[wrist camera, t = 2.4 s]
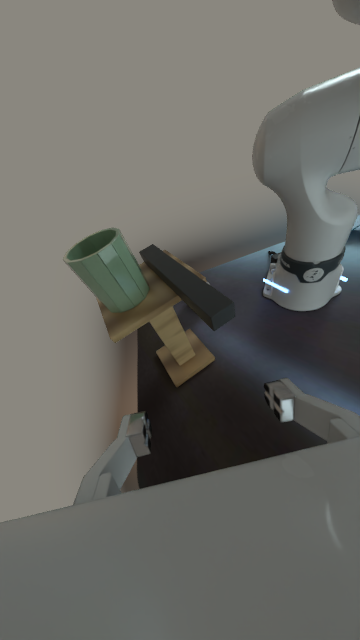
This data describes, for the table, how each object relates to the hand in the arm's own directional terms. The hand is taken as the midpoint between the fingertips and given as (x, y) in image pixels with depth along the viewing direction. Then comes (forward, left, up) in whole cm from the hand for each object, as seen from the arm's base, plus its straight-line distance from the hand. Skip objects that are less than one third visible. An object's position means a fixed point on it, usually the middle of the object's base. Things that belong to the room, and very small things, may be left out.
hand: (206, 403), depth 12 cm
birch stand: (-17, -14, -29) cm, 37 cm away
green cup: (-15, -16, -3) cm, 22 cm away
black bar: (-17, -8, -3) cm, 19 cm away
